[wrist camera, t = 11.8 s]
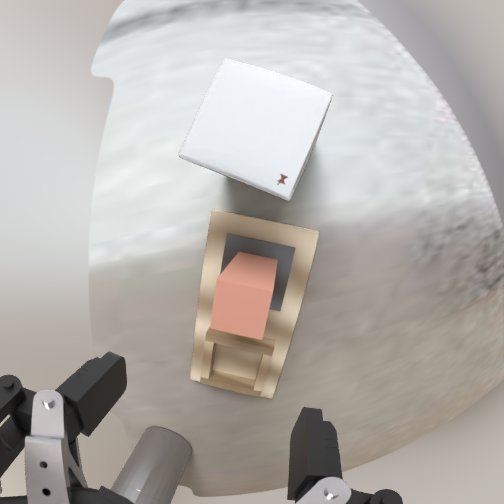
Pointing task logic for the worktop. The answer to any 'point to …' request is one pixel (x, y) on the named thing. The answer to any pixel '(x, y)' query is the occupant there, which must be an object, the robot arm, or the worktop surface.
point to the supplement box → (257, 127)
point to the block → (244, 295)
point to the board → (280, 312)
